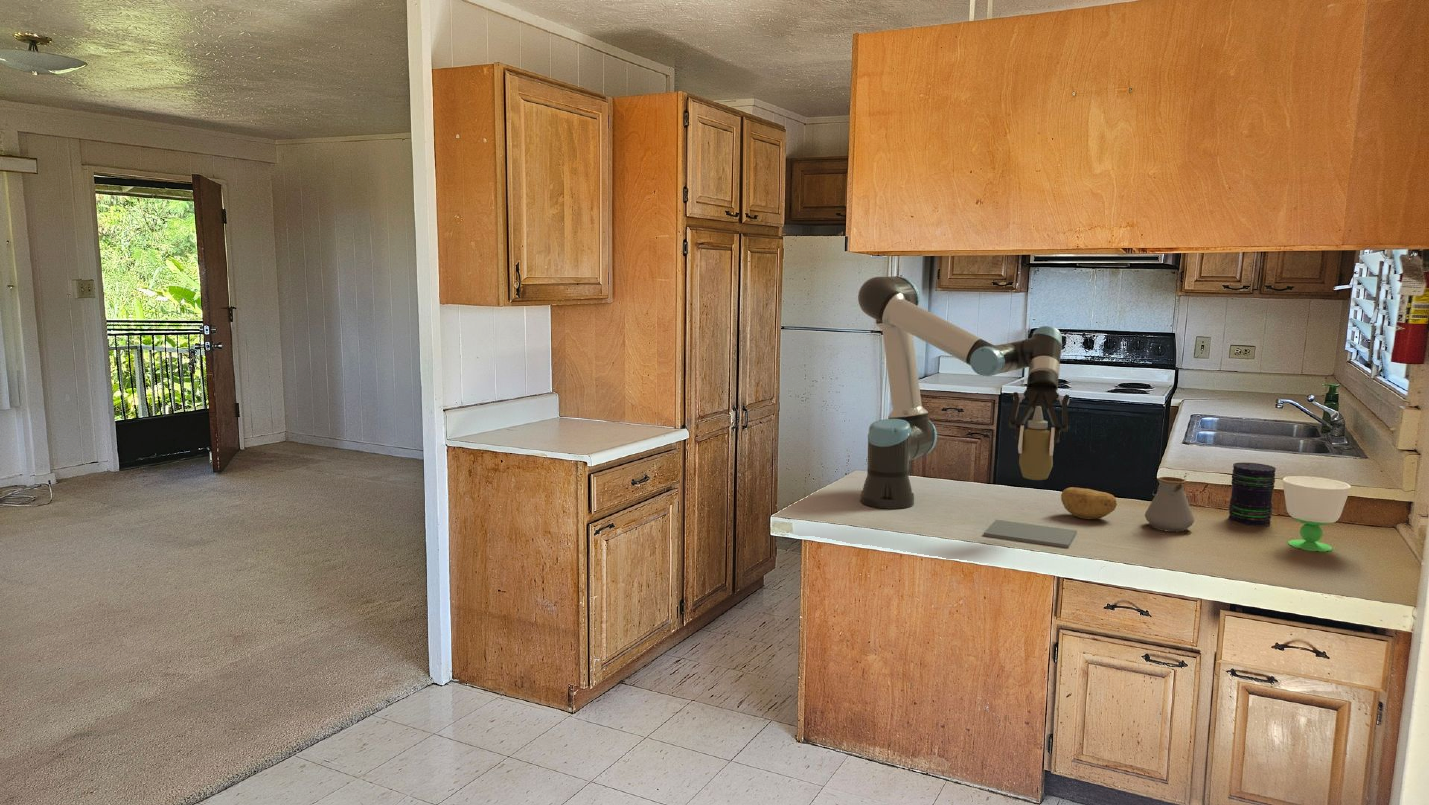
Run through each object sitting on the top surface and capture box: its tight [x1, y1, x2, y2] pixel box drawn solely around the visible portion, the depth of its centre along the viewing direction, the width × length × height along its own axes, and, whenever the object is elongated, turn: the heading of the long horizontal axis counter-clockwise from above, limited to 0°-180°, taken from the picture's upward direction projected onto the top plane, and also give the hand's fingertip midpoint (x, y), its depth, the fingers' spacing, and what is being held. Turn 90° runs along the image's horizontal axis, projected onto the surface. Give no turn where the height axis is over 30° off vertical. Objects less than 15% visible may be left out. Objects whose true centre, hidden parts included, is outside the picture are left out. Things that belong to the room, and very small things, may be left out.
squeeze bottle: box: [1018, 406, 1054, 481], centre depth 221 cm, size 8×8×18 cm
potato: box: [1060, 486, 1118, 520], centre depth 240 cm, size 10×14×8 cm
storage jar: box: [1228, 462, 1277, 527], centre depth 237 cm, size 10×10×15 cm
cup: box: [1282, 475, 1352, 553], centre depth 215 cm, size 14×14×16 cm
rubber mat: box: [983, 519, 1078, 549], centre depth 225 cm, size 20×14×1 cm
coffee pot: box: [1144, 476, 1195, 533], centre depth 226 cm, size 21×12×15 cm, turn 159°
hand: (1035, 451), depth 218 cm, fingers closed on squeeze bottle, 6 cm apart
